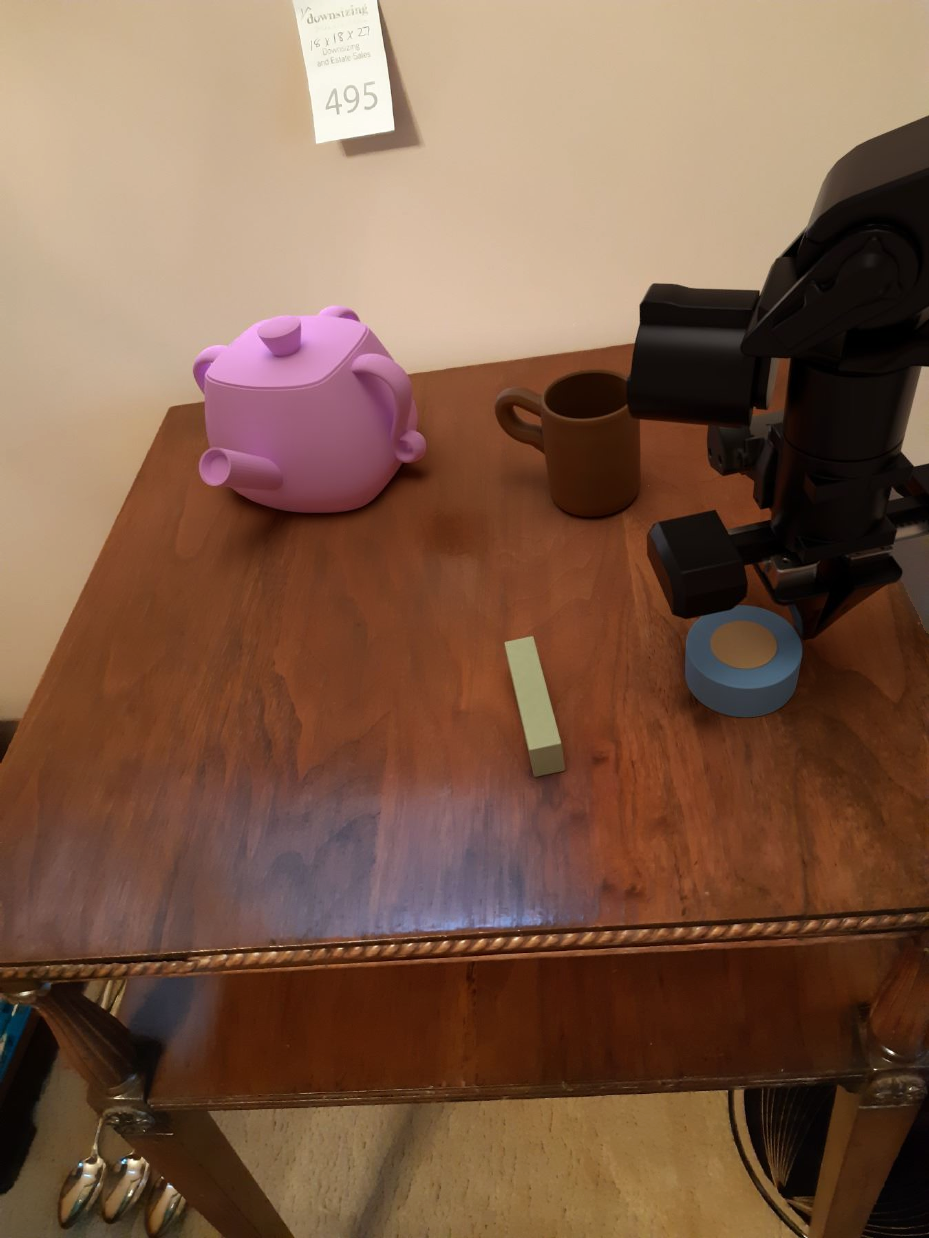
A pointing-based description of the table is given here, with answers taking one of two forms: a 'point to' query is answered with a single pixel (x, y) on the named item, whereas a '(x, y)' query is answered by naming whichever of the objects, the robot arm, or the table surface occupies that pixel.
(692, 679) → the tape roll
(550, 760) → the stop block
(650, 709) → the table surface
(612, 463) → the mug
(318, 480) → the teapot
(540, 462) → the table surface
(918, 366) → the robot arm
